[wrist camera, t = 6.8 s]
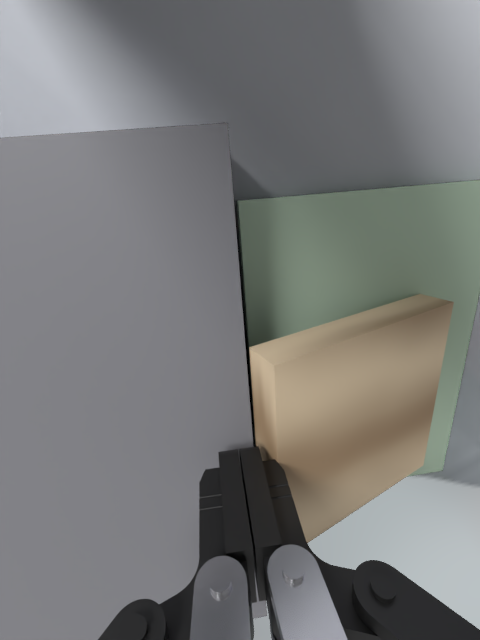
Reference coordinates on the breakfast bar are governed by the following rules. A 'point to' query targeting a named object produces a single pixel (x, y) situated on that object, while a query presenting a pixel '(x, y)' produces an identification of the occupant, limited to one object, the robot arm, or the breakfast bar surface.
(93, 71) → the breakfast bar surface
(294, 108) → the breakfast bar surface
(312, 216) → the sage mat
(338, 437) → the cork coaster
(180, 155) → the gray rectangular box
